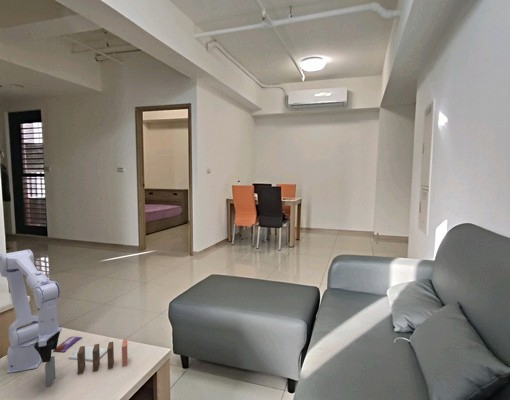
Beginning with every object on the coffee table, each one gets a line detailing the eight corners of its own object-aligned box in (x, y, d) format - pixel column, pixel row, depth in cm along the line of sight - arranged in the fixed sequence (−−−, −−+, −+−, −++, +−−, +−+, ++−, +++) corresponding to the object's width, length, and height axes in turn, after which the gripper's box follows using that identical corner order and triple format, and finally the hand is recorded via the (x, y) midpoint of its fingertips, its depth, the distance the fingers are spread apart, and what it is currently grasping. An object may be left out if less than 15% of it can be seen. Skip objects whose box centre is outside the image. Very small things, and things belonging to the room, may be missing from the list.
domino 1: (45, 387, 106) (44, 365, 105) (50, 378, 110) (49, 356, 110) (51, 386, 106) (50, 364, 105) (55, 377, 111) (54, 356, 110)
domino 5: (122, 366, 117) (121, 346, 117) (123, 359, 122) (122, 340, 121) (126, 365, 118) (126, 346, 117) (127, 358, 122) (127, 339, 122)
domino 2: (77, 374, 112) (77, 353, 112) (80, 366, 117) (80, 346, 116) (82, 373, 113) (82, 353, 112) (85, 365, 118) (84, 345, 117)
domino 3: (93, 371, 114) (92, 351, 113) (95, 364, 119) (94, 344, 118) (97, 371, 114) (97, 350, 114) (99, 363, 119) (99, 343, 118)
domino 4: (107, 369, 116) (107, 349, 115) (109, 361, 120) (108, 342, 120) (112, 368, 116) (111, 348, 115) (113, 360, 121) (113, 341, 120)
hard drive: (68, 356, 121) (96, 359, 120) (82, 345, 129) (109, 347, 128) (68, 360, 122) (96, 363, 120) (82, 349, 130) (109, 351, 128)
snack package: (72, 334, 138) (82, 335, 137) (72, 338, 138) (82, 339, 137) (52, 348, 126) (63, 349, 126) (52, 353, 126) (64, 354, 126)
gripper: (55, 326, 101) (57, 365, 102) (66, 307, 114) (67, 342, 116) (30, 329, 98) (32, 369, 100) (44, 310, 112) (46, 345, 113)
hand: (49, 355), depth 107 cm, fingers open, 7 cm apart
